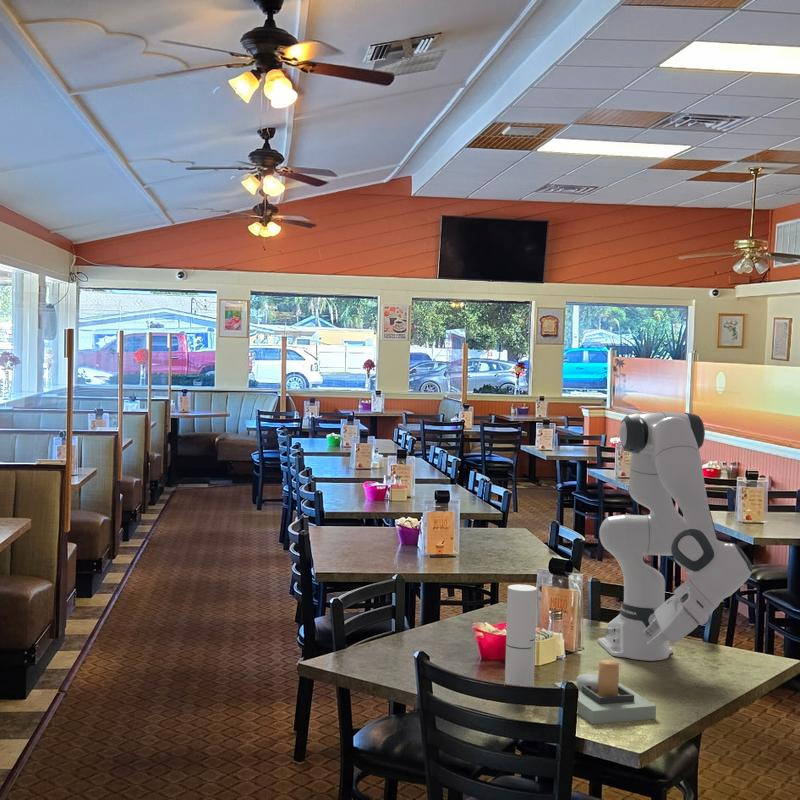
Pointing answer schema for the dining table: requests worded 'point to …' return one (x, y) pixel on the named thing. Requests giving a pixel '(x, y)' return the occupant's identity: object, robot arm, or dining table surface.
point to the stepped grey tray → (610, 703)
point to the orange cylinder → (608, 678)
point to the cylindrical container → (520, 635)
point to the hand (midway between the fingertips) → (647, 640)
